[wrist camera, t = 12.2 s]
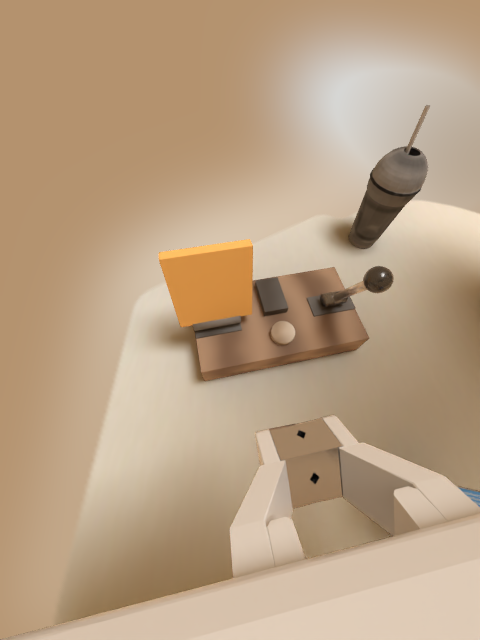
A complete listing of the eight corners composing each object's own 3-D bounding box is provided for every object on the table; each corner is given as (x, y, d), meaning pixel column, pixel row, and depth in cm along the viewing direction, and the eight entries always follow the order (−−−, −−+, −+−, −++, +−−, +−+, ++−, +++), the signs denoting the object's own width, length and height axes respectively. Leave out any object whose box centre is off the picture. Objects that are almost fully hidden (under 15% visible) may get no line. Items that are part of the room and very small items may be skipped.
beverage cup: (361, 260, 45) (444, 133, 27) (332, 234, 48) (390, 104, 30) (389, 244, 47) (483, 115, 29) (360, 220, 50) (430, 89, 32)
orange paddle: (249, 313, 35) (249, 237, 26) (252, 323, 33) (253, 247, 25) (182, 325, 34) (158, 250, 25) (183, 336, 32) (159, 261, 24)
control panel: (325, 282, 42) (337, 261, 38) (356, 349, 37) (373, 334, 32) (192, 305, 40) (187, 286, 35) (204, 381, 34) (200, 369, 30)
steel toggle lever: (338, 288, 36) (397, 260, 24) (342, 307, 36) (404, 286, 24) (318, 292, 36) (368, 265, 24) (322, 310, 35) (375, 292, 24)
